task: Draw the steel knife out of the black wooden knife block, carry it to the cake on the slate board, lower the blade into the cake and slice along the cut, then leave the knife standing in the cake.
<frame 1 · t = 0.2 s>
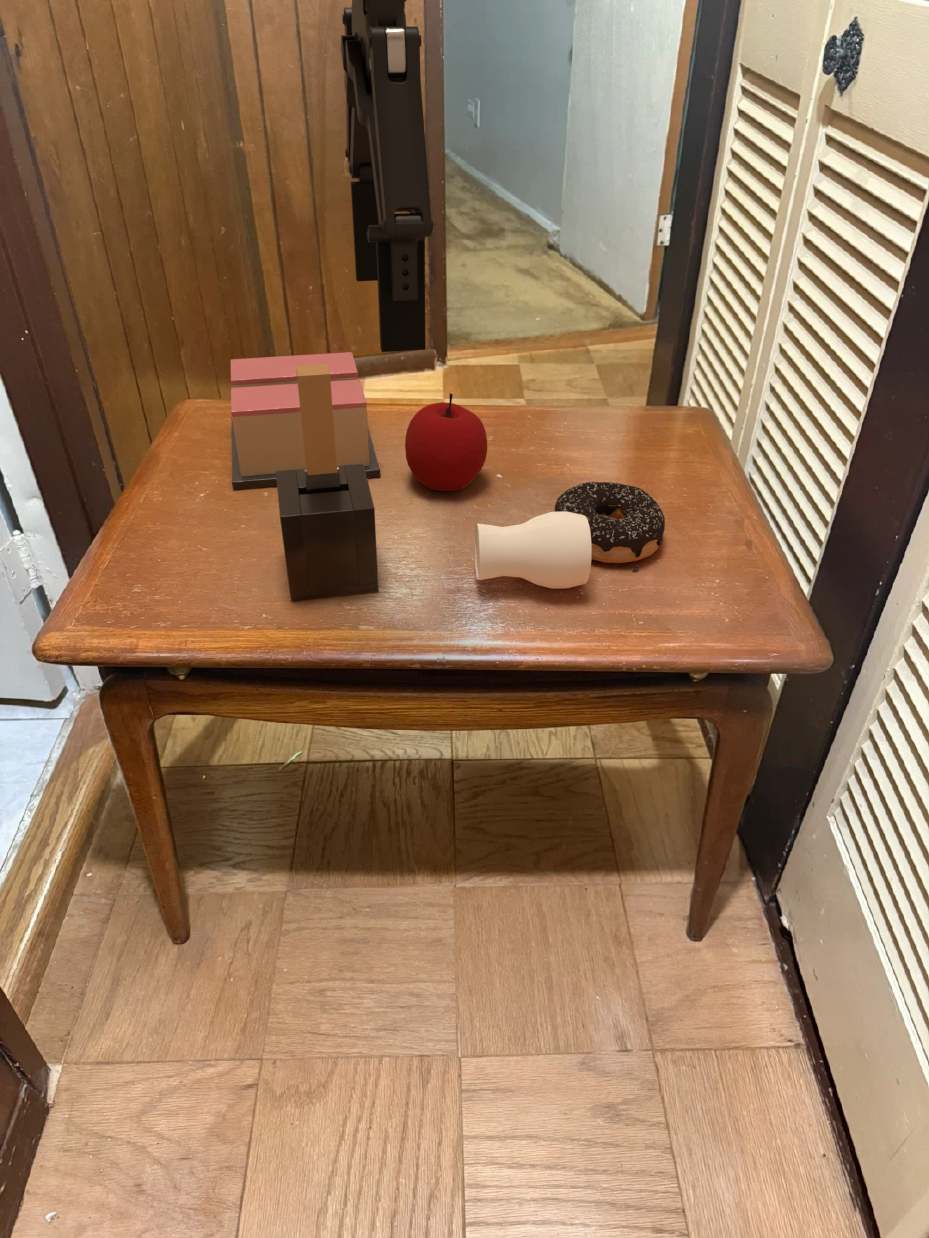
hand: (387, 311, 59), 28 cm above the table, tool pointing down, fingers open, 13 cm apart
cake: (303, 449, 101), on the table
cream ceramic vase: (527, 583, 82), on the table
donut: (606, 538, 88), on the table
knife block: (331, 571, 82), on the table
knife: (330, 563, 82), point 1 cm above the table, touching knife block
apple: (445, 482, 96), on the table
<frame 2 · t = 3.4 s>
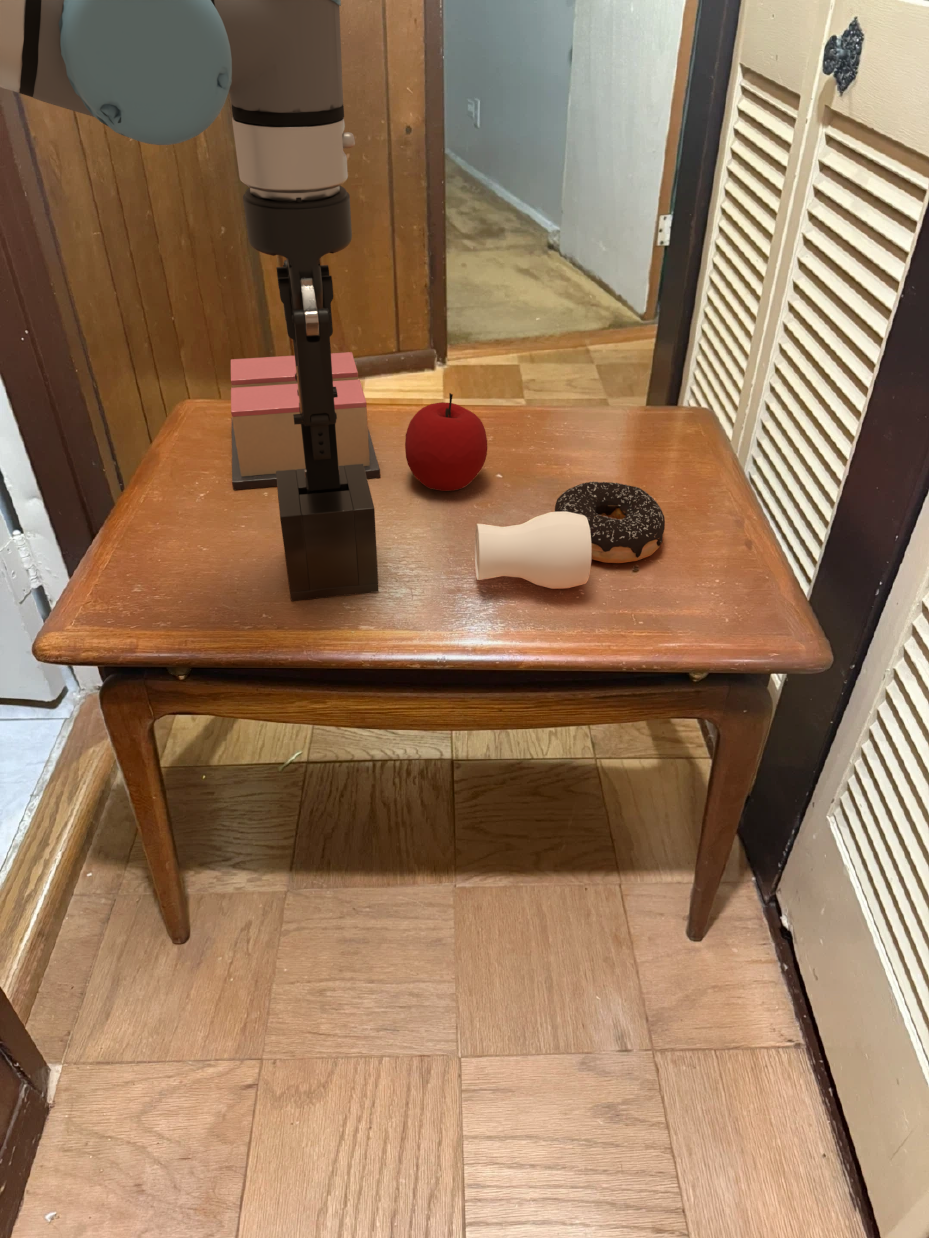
hand: (322, 479, 76), 10 cm above the table, tool pointing down, fingers closed on knife, 2 cm apart
knife: (330, 563, 82), point 1 cm above the table, touching gripper, knife block
everything else where it was.
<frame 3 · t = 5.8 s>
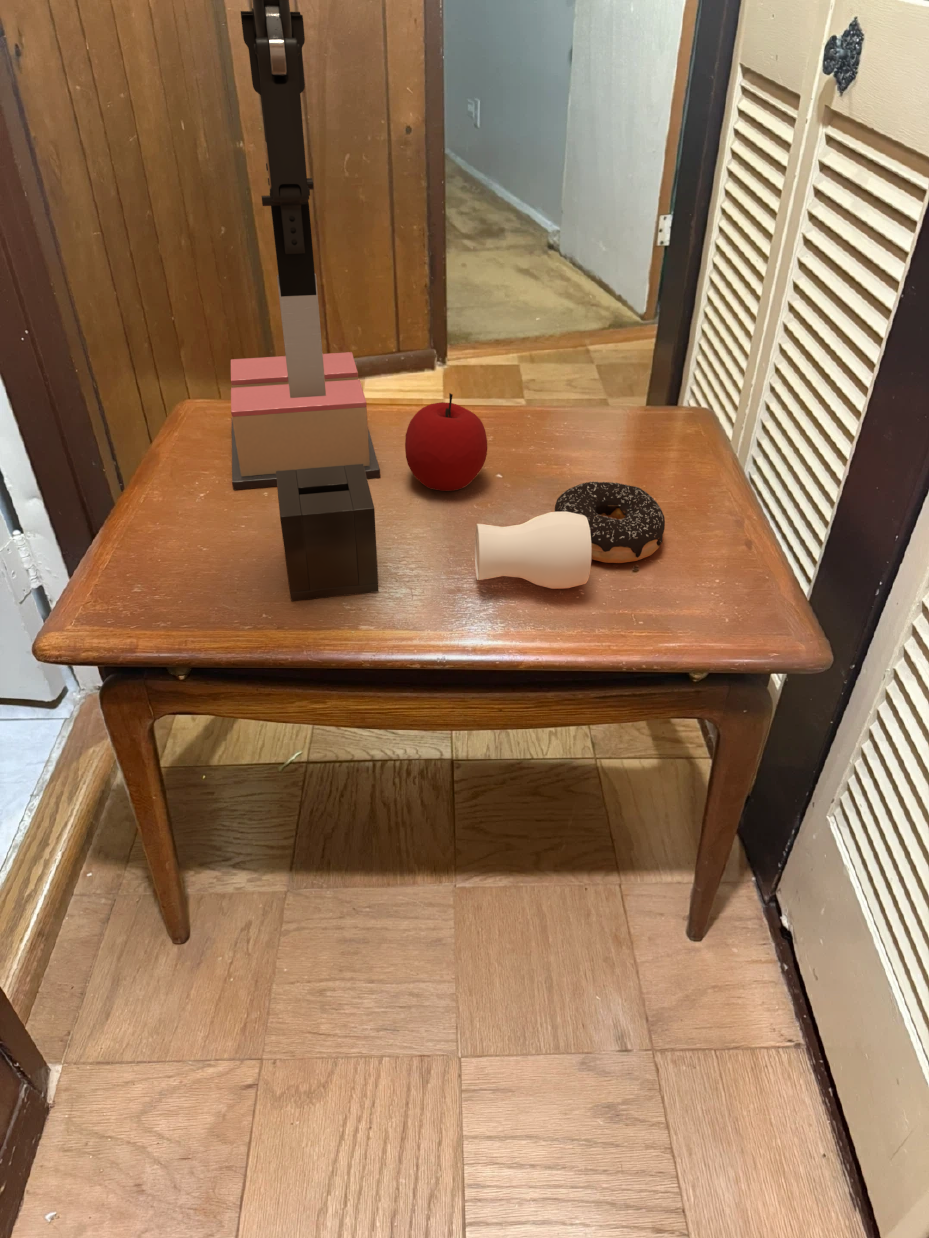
hand: (297, 288, 68), 26 cm above the table, tool pointing down, fingers closed on knife, 2 cm apart
knife: (308, 396, 73), point 17 cm above the table, touching gripper
everything else where it was.
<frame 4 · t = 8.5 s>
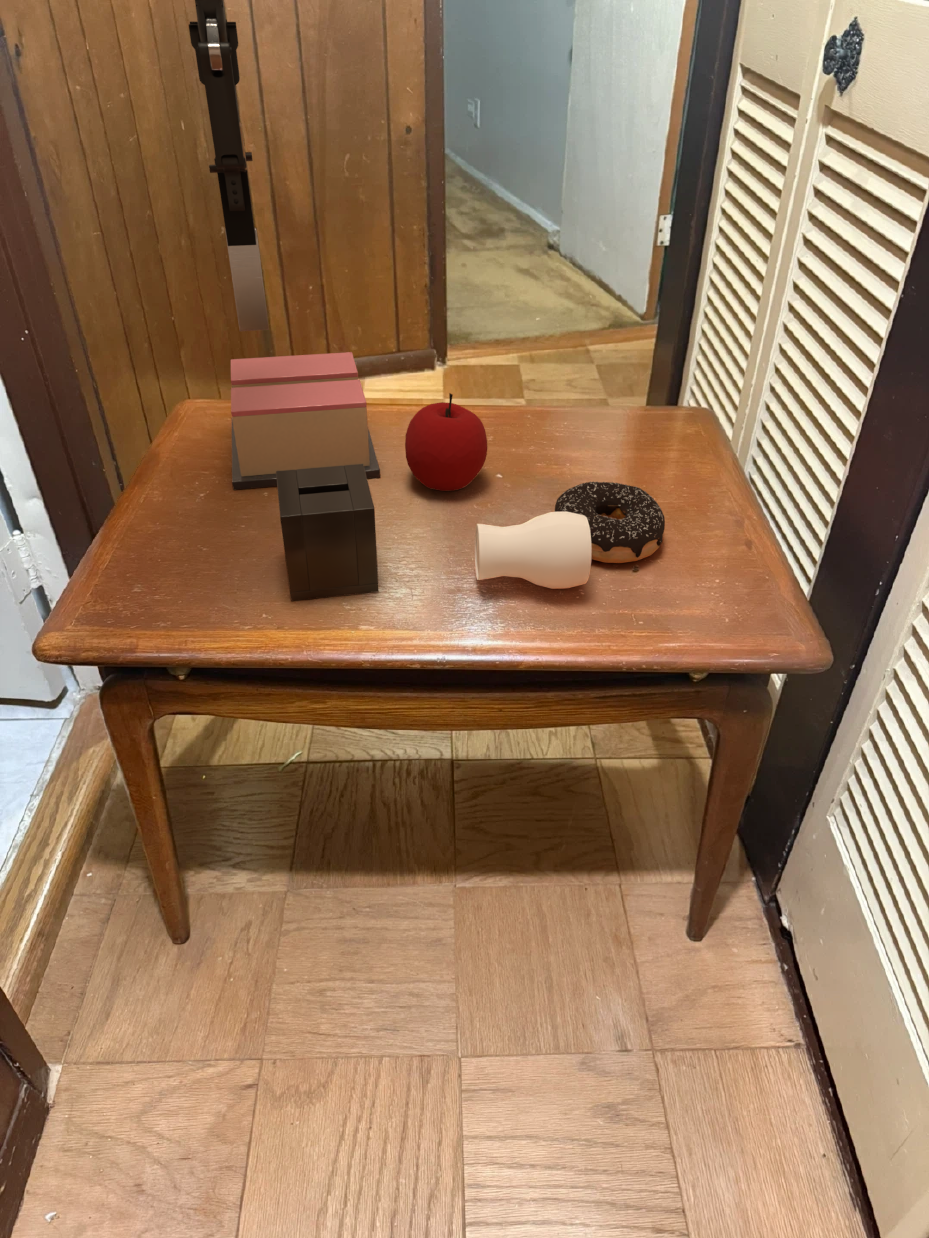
hand: (241, 240, 85), 24 cm above the table, tool pointing down, fingers closed on knife, 2 cm apart
knife: (254, 330, 91), point 15 cm above the table, touching gripper
everything else where it was.
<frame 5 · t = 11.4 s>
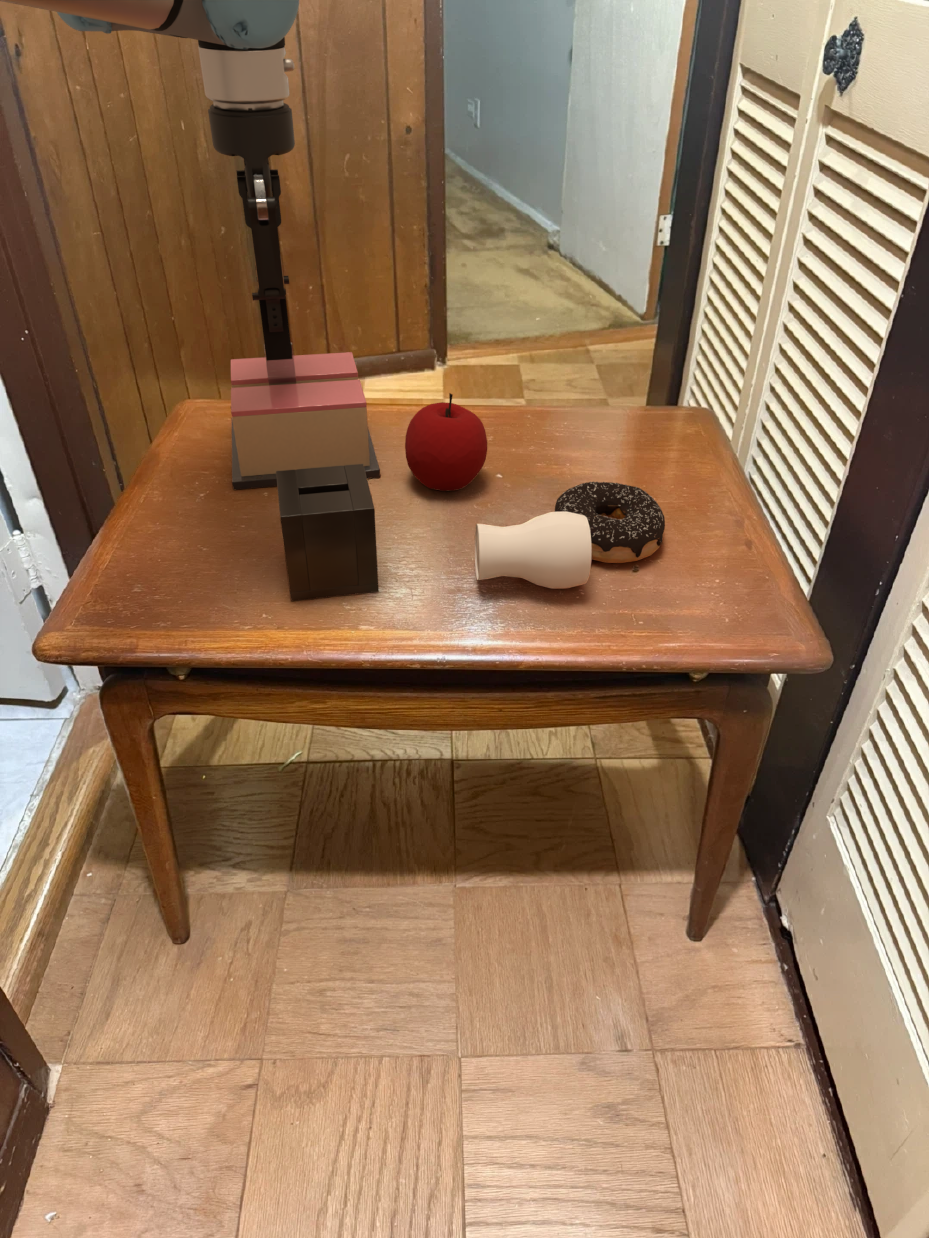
hand: (278, 353, 93), 12 cm above the table, tool pointing down, fingers closed on knife, 2 cm apart
knife: (288, 429, 99), point 3 cm above the table, touching gripper
everything else where it was.
when the fingers open (10 cm above the table, at t = 13.5 s): knife stays where it is, resting on cake.
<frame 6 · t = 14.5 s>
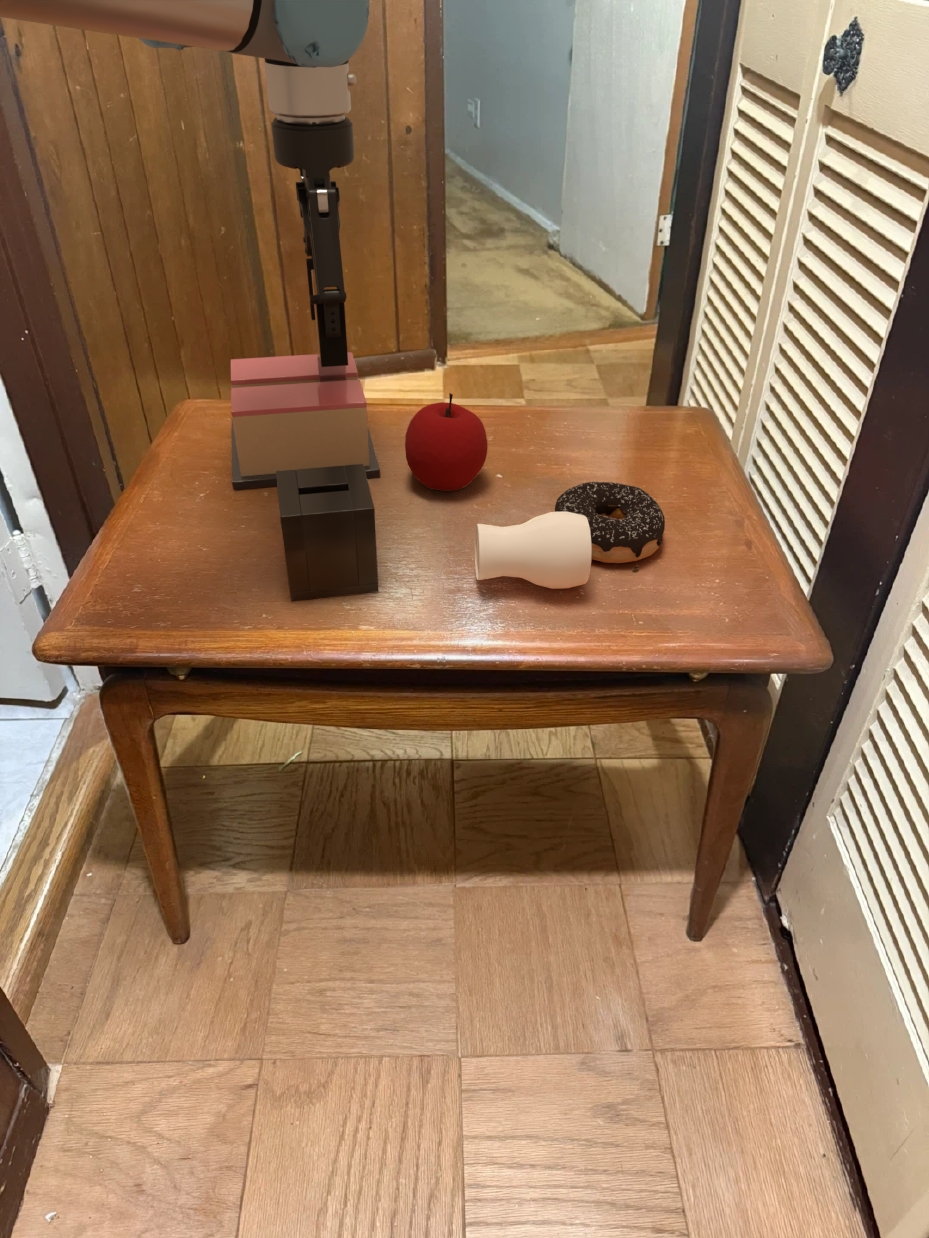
hand: (328, 340, 94), 13 cm above the table, tool pointing down, fingers open, 13 cm apart
knife: (337, 439, 101), point 1 cm above the table, touching cake
everything else where it was.
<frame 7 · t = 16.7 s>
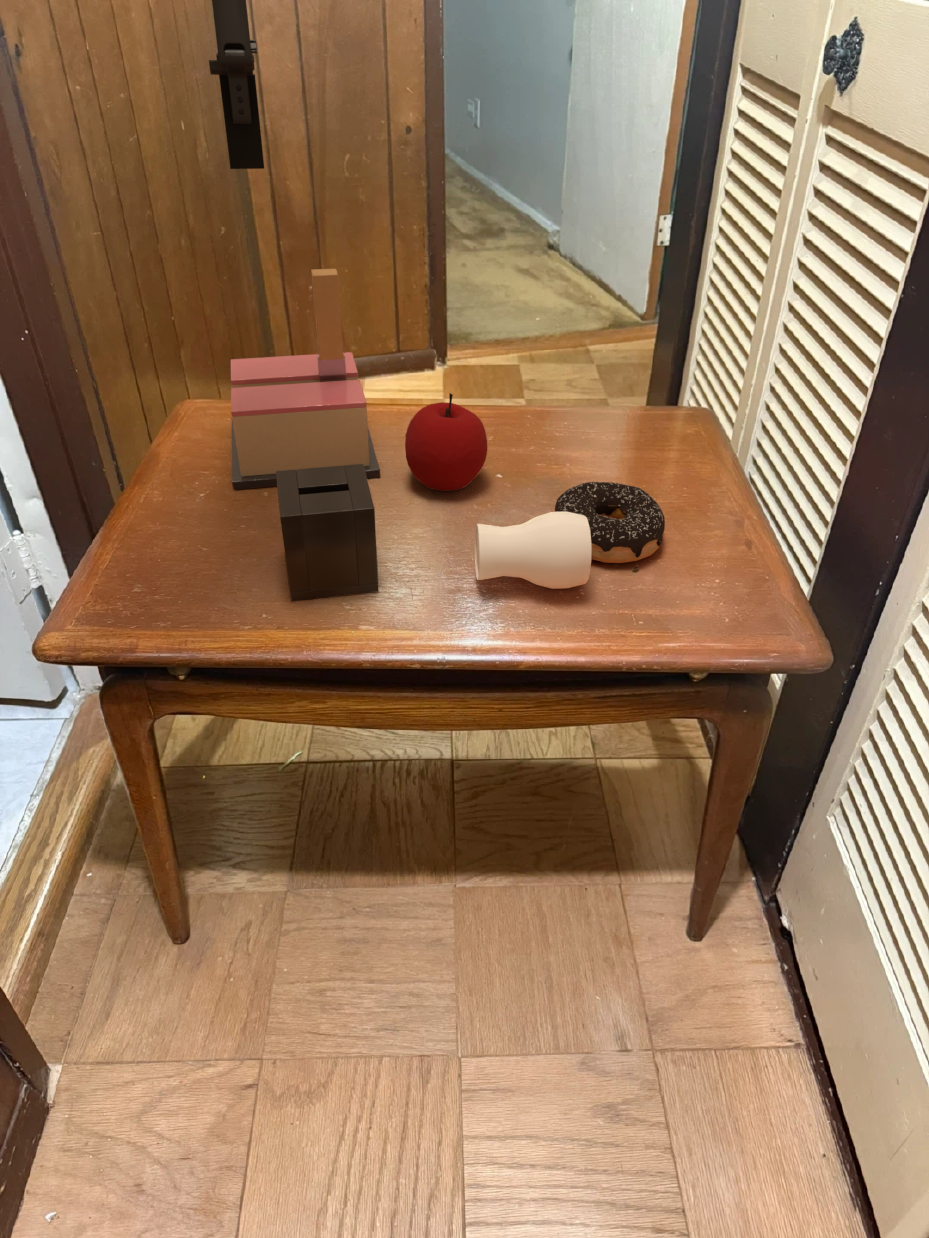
hand: (245, 152, 76), 32 cm above the table, tool pointing down, fingers open, 13 cm apart
nothing on the table moved.
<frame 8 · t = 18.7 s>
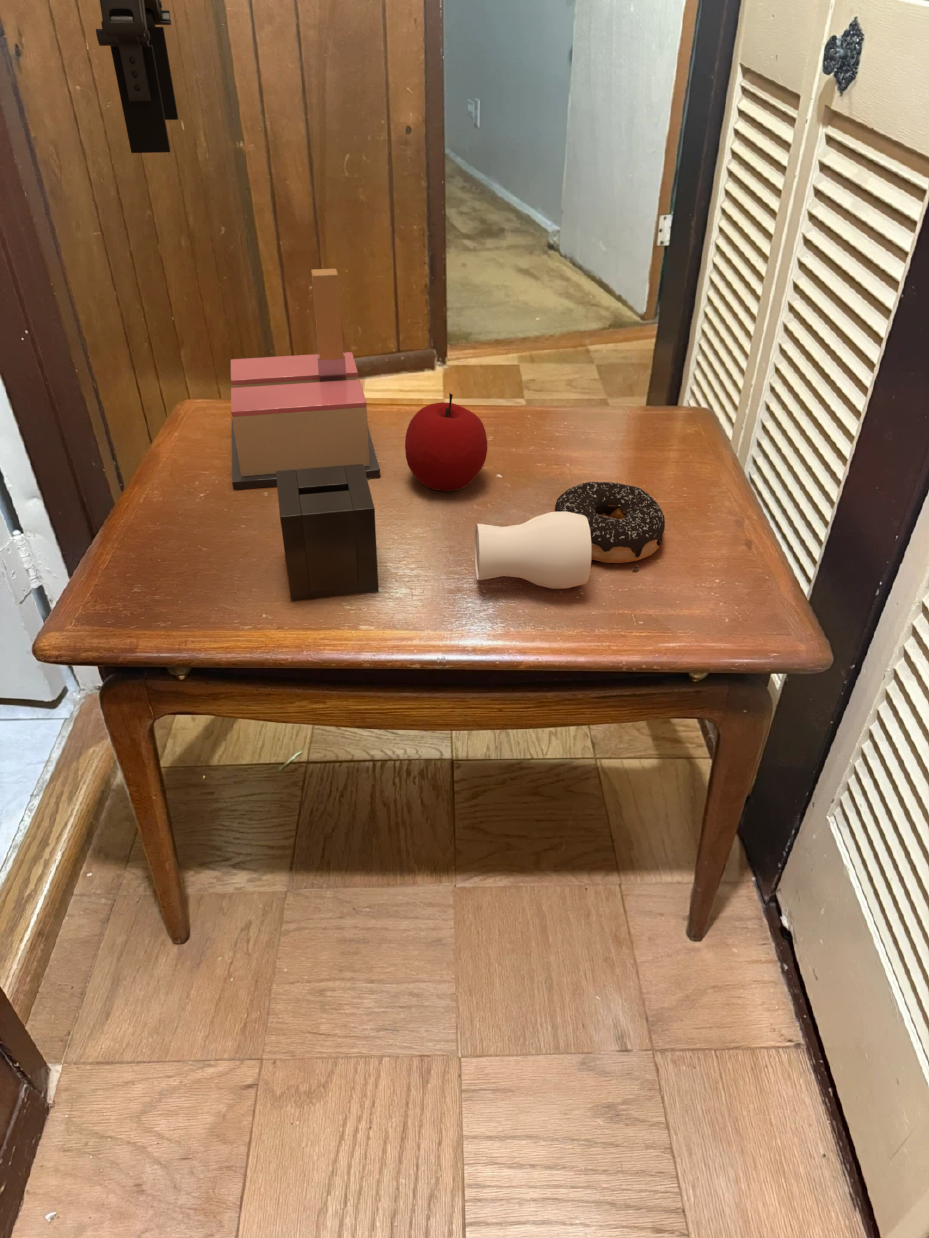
hand: (156, 135, 69), 35 cm above the table, tool pointing down, fingers open, 13 cm apart
nothing on the table moved.
at the end: knife inside the target area on the cake (4.1 cm from its centre), point 1.0 cm above the cake's base; knife moved 25.2 cm from its start; the gripper is holding nothing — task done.
